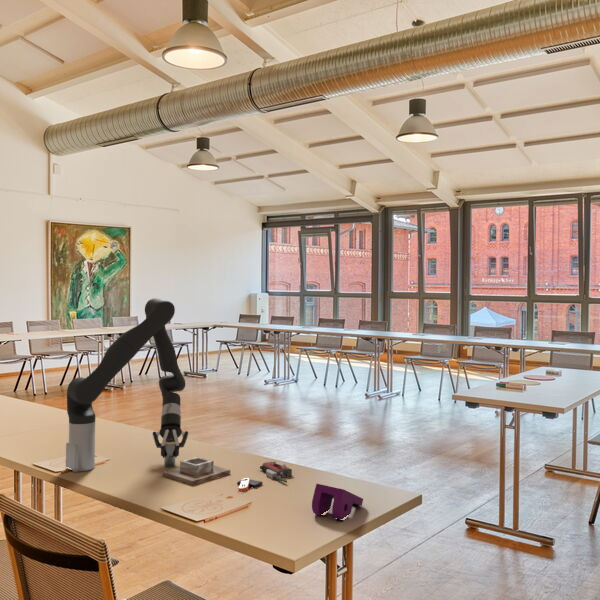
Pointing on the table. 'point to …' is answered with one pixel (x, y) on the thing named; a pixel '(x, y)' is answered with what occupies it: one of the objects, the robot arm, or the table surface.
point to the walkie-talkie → (276, 470)
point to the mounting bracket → (340, 504)
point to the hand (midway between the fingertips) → (169, 456)
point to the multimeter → (248, 484)
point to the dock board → (196, 471)
